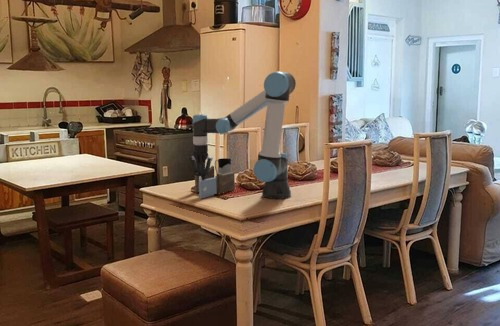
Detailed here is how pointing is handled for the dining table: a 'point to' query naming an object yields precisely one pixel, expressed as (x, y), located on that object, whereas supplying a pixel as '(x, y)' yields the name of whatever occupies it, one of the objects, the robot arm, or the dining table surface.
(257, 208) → the dining table surface
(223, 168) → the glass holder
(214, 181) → the door
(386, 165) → the dining table surface
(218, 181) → the notched wooden plank
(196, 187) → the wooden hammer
